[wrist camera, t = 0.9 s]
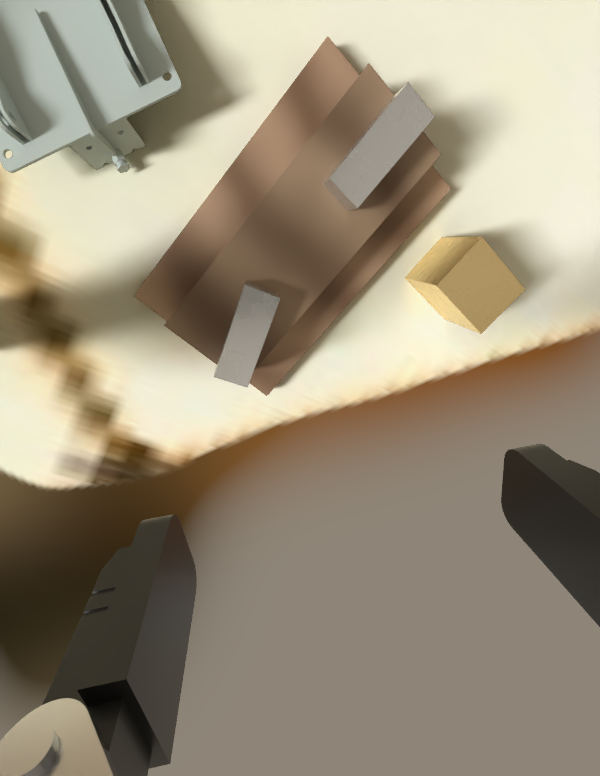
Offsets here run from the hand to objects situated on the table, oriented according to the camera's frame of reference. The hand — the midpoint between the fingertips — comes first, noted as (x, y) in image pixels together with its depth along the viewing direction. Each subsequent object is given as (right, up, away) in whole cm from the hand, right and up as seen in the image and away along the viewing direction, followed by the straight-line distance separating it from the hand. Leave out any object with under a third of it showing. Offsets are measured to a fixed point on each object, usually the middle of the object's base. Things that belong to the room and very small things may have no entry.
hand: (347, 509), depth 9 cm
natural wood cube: (+10, +12, +21) cm, 26 cm away
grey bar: (-1, +11, +15) cm, 19 cm away
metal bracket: (-15, +23, +14) cm, 31 cm away
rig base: (-2, +14, +19) cm, 23 cm away
